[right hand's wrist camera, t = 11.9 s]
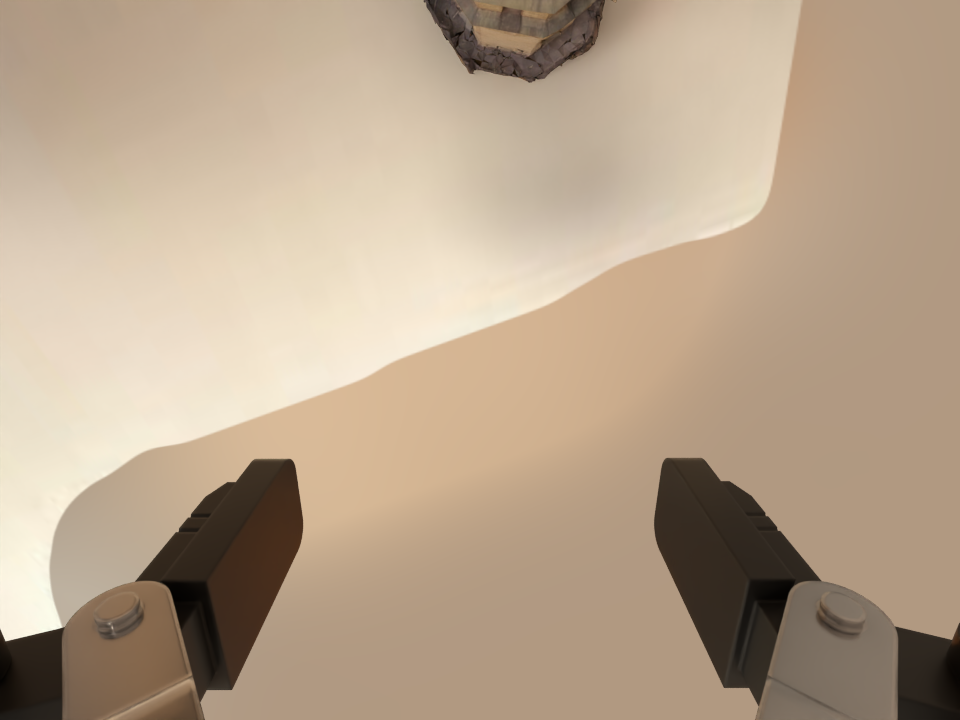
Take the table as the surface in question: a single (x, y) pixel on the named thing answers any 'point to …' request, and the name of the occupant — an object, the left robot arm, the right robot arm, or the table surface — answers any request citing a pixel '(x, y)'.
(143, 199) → the table surface
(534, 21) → the miniature building
